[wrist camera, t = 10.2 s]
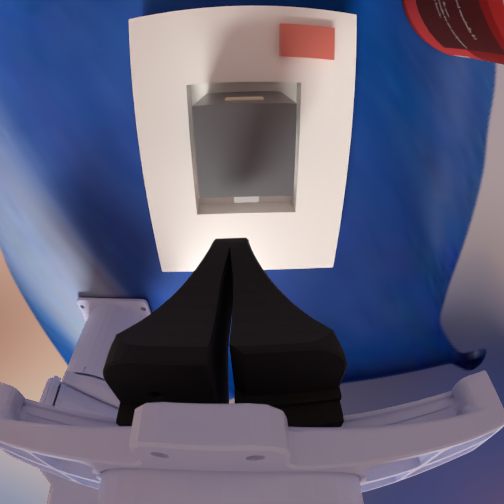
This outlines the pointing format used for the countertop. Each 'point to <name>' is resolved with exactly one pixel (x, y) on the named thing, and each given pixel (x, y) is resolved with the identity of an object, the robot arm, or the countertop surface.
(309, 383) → the robot arm
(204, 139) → the plug
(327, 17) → the socket plate
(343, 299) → the countertop surface
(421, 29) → the canned food
